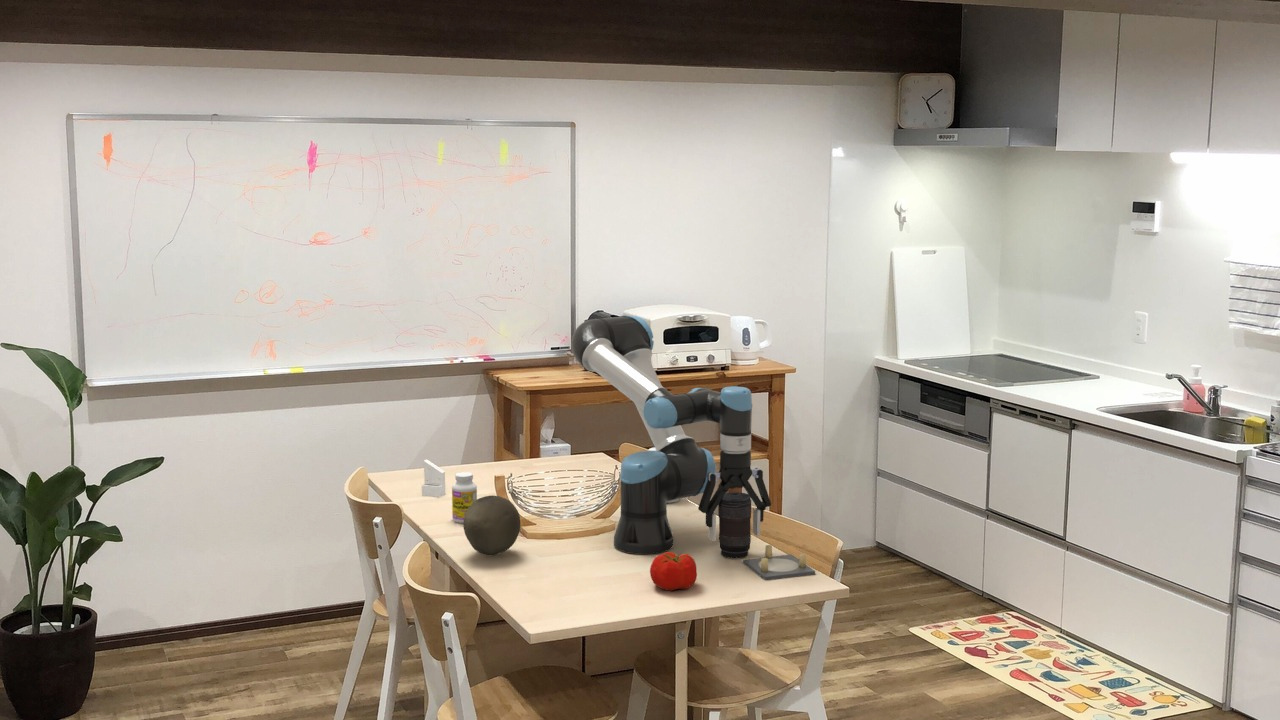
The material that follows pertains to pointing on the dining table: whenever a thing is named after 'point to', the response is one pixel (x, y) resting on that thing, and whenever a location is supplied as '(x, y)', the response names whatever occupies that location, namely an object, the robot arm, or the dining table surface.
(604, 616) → the dining table surface
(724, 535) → the camera lens
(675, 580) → the tomato
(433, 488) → the white wedge bracket
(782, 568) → the mount
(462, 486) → the supplement bottle
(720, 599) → the dining table surface
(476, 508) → the matte black sphere
